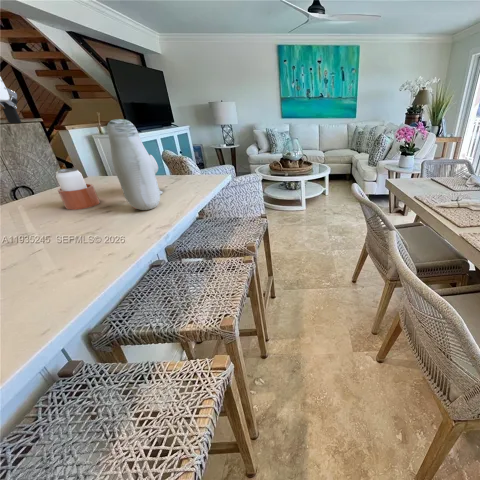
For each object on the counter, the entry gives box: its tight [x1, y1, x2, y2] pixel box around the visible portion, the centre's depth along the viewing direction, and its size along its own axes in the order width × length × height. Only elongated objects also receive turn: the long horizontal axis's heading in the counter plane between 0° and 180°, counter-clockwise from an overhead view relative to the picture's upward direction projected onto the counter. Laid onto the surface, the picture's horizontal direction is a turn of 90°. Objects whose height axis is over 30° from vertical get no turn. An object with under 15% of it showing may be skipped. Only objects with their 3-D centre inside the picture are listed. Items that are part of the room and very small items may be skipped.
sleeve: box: [57, 183, 101, 211], centre depth 90 cm, size 9×9×7 cm
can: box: [55, 168, 87, 191], centre depth 88 cm, size 6×6×12 cm
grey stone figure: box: [106, 118, 161, 211], centre depth 84 cm, size 10×10×28 cm
